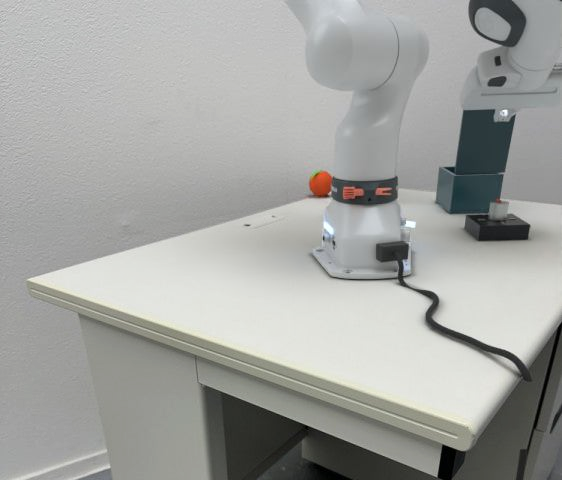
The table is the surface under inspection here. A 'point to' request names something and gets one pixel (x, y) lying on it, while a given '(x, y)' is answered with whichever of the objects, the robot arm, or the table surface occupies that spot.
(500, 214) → the knob
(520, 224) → the control panel
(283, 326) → the table surface
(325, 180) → the clementine
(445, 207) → the teal open box
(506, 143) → the box lid
